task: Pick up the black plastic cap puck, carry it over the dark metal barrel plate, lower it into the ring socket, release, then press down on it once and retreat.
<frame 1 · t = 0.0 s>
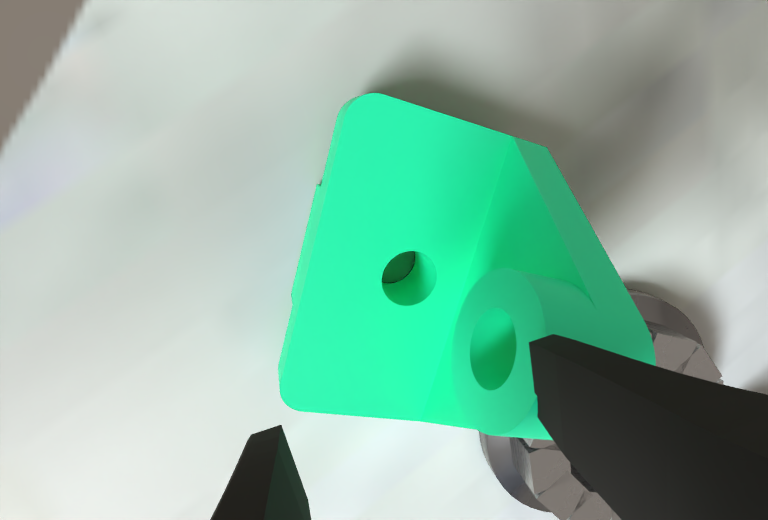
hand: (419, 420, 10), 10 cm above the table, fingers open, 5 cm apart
lens barrel: (589, 400, 24), on the table
camera mount: (389, 258, 20), on the table, touching gripper
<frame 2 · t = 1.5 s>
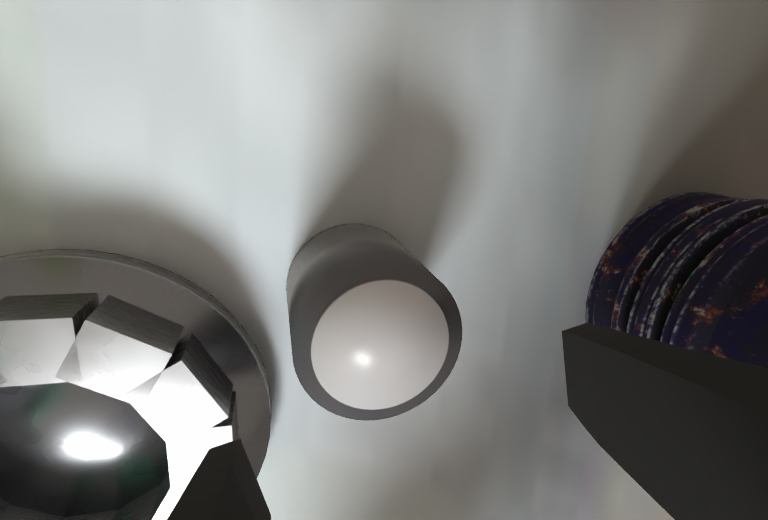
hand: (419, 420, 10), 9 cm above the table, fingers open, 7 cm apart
lens barrel: (88, 419, 17), on the table
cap: (351, 286, 18), on the table
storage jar: (670, 291, 22), on the table
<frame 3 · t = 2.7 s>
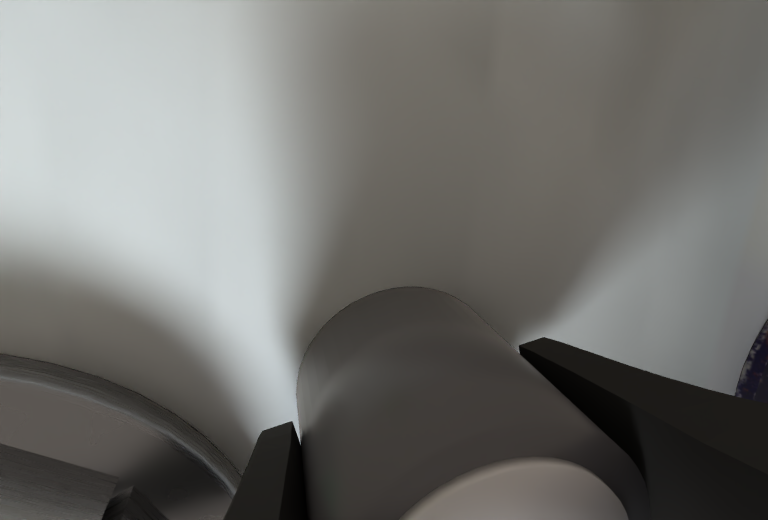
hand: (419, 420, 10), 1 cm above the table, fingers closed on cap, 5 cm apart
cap: (400, 383, 11), on the table, touching gripper
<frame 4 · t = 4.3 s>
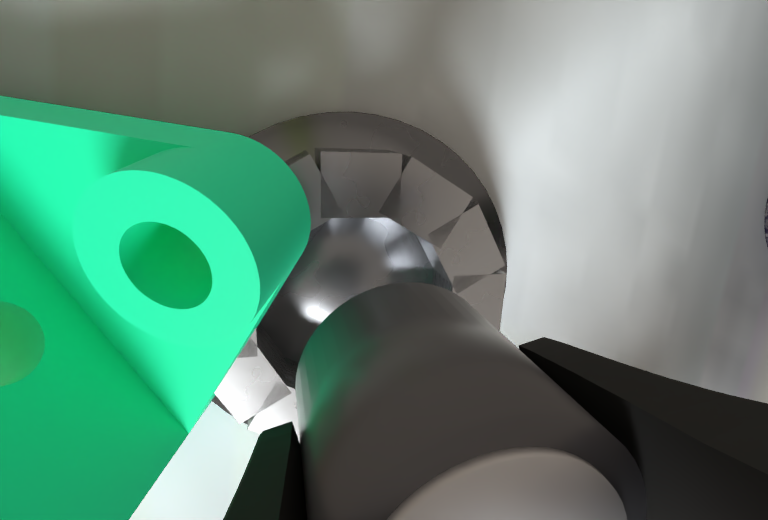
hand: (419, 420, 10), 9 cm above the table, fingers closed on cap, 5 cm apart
lens barrel: (344, 284, 18), on the table
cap: (399, 378, 11), point 7 cm above the table, touching gripper
when the fingers open (4 cm above the table, at t = 5.8 s): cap drops 1 cm, resting on lens barrel.
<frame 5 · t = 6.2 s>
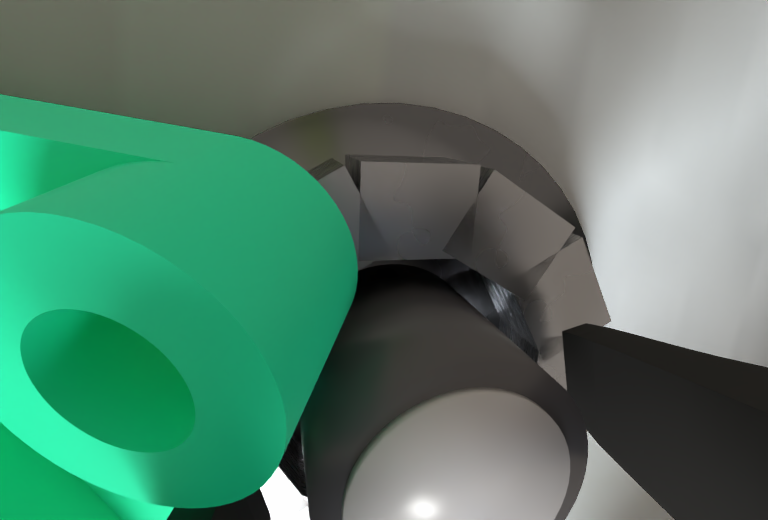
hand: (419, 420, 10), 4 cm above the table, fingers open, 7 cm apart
lens barrel: (378, 338, 13), on the table
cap: (386, 351, 12), point 1 cm above the table, touching lens barrel
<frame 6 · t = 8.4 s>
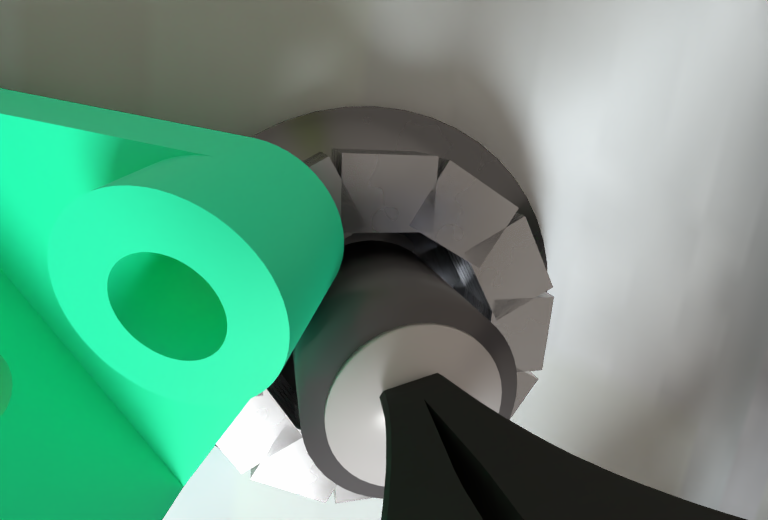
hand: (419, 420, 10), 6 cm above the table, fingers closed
lens barrel: (362, 305, 16), on the table
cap: (368, 315, 15), point 1 cm above the table, touching lens barrel
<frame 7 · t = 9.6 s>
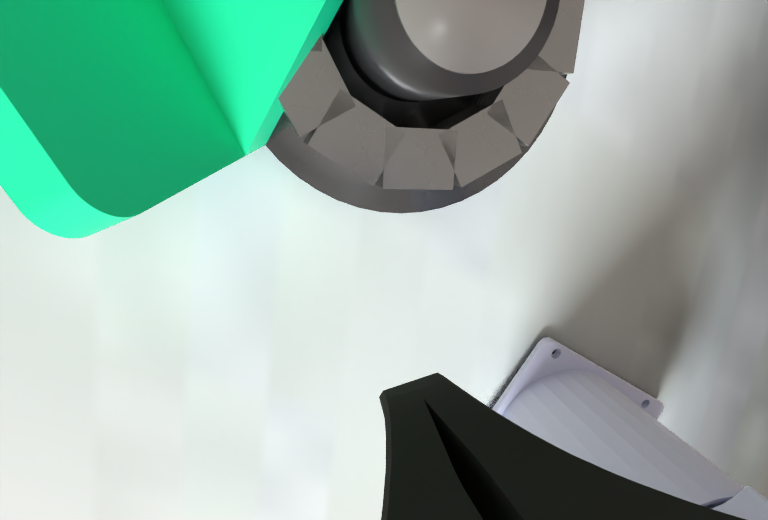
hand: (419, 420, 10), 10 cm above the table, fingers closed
lens barrel: (403, 34, 17), on the table
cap: (411, 26, 16), point 1 cm above the table, touching lens barrel
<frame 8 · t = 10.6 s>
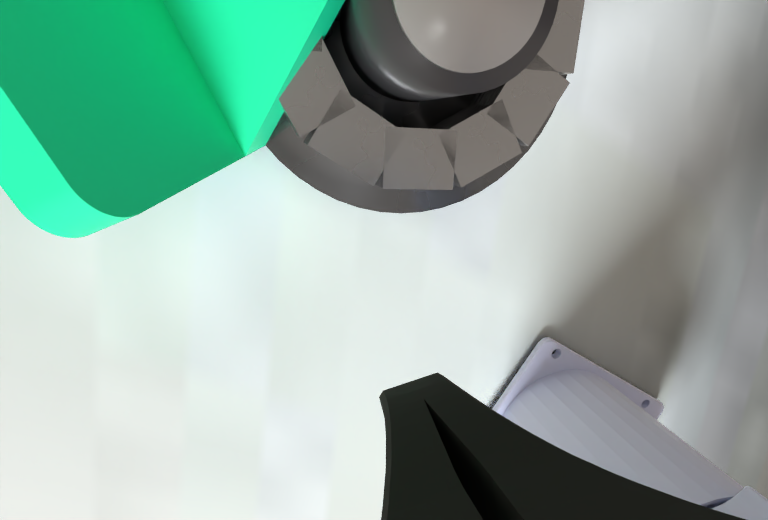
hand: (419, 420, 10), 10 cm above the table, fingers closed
lens barrel: (403, 34, 17), on the table
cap: (411, 26, 16), point 1 cm above the table, touching lens barrel
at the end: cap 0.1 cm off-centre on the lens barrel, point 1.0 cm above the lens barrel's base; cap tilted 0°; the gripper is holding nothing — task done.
